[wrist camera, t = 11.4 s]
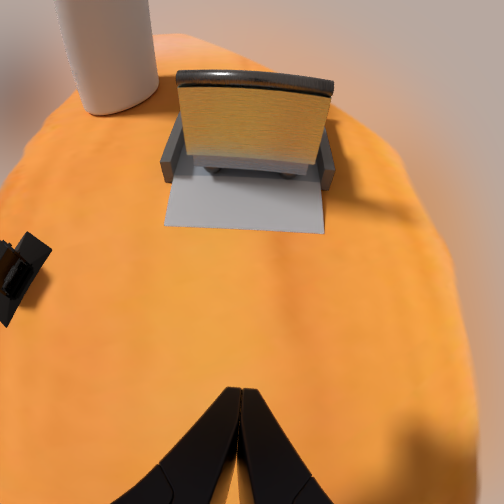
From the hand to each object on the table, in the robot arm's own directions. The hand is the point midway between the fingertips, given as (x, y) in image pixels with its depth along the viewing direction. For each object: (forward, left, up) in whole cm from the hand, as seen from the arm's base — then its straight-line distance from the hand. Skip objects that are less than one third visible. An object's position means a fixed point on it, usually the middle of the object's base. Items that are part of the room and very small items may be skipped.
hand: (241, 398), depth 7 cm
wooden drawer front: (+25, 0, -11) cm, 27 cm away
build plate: (+7, +23, -13) cm, 27 cm away
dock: (+23, 0, -13) cm, 27 cm away
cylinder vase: (+39, +21, -12) cm, 45 cm away
